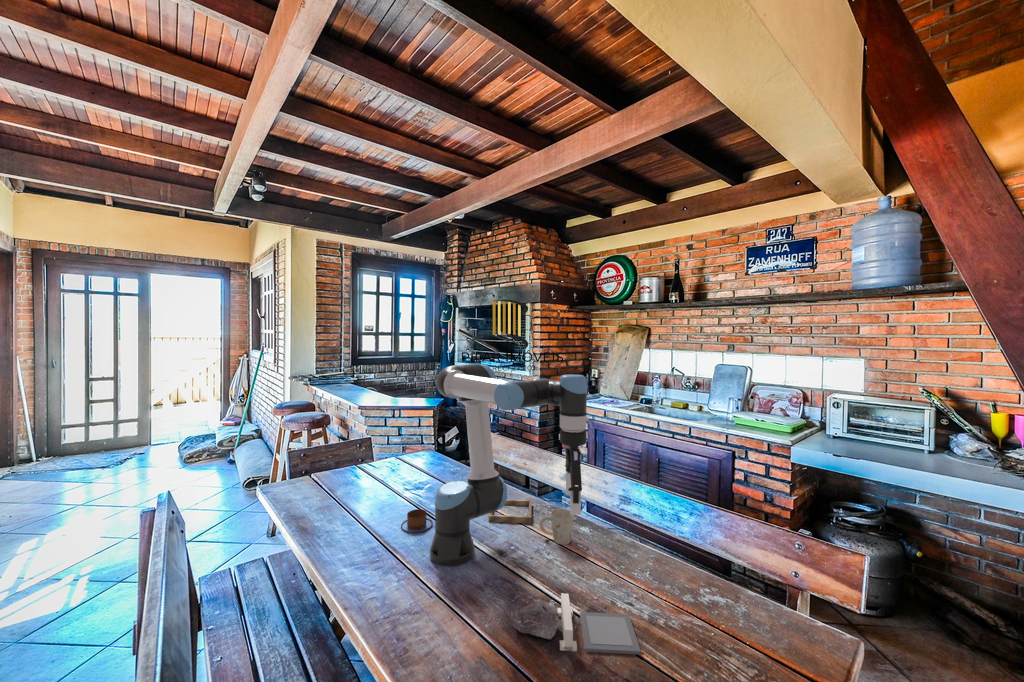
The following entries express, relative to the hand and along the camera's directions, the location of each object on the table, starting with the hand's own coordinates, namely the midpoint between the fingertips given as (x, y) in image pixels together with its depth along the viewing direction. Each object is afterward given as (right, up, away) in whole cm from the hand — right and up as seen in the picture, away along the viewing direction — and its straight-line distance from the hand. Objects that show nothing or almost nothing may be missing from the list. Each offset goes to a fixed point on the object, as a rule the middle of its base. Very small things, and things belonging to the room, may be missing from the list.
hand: (572, 503), depth 117 cm
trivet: (+7, -28, -13) cm, 31 cm away
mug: (-1, -27, +35) cm, 44 cm away
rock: (-14, -29, -11) cm, 34 cm away
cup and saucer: (-54, -27, +43) cm, 74 cm away
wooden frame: (-18, -27, +56) cm, 64 cm away
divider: (-3, -28, -12) cm, 30 cm away
